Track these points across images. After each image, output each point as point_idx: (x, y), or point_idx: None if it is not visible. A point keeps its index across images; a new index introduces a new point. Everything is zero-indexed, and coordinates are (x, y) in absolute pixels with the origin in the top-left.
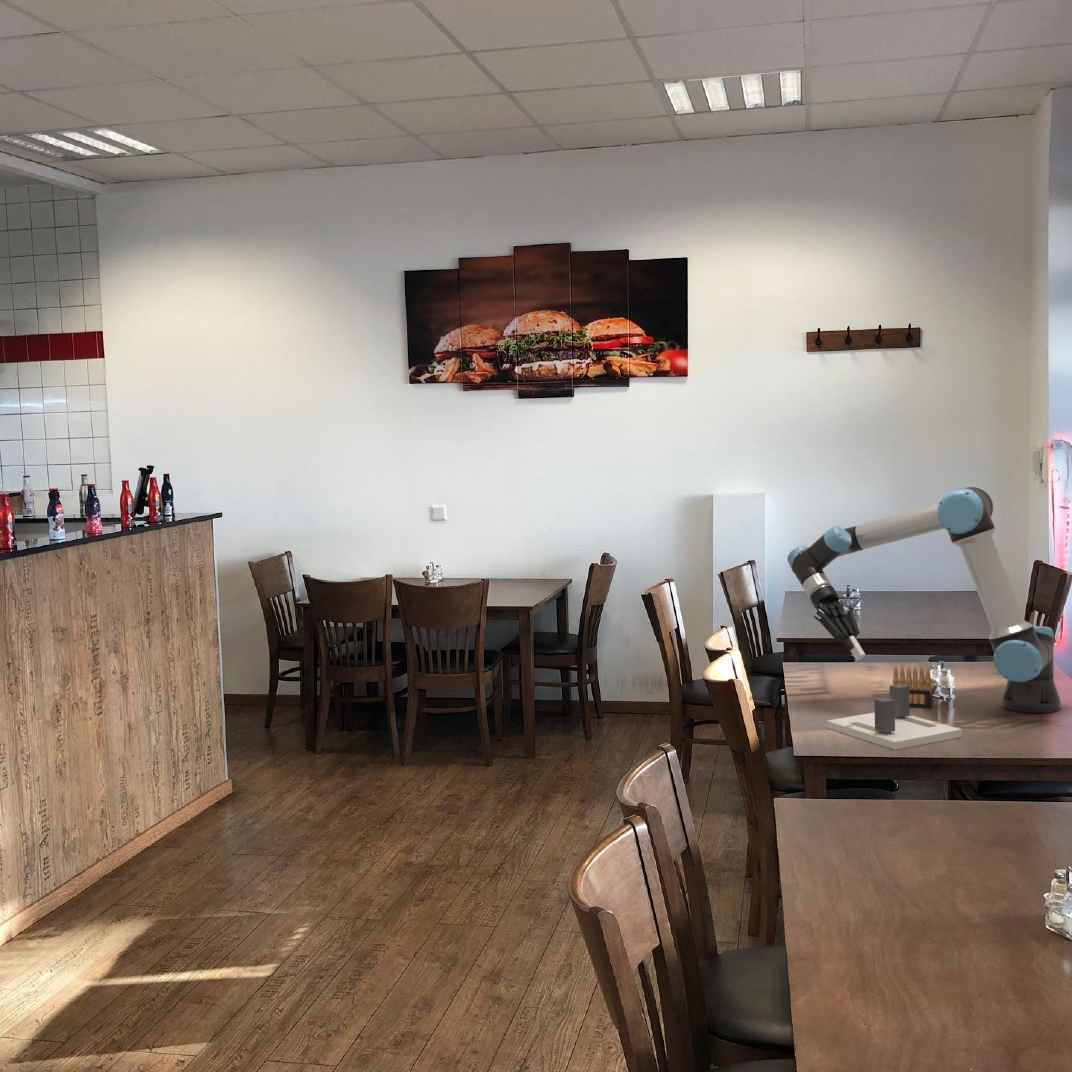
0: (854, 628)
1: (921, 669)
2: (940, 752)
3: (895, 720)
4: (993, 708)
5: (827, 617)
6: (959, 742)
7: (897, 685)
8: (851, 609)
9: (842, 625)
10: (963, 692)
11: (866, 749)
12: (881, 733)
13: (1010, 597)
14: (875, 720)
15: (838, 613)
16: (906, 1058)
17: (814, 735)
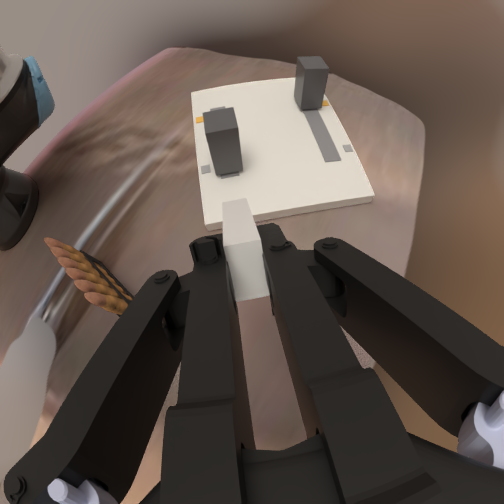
0: (165, 298)
1: (58, 248)
2: (264, 67)
3: (249, 150)
4: (40, 223)
5: (456, 350)
6: (214, 86)
7: (219, 124)
8: (24, 471)
9: (281, 301)
10: (9, 339)
11: (347, 97)
12: None
13: None
14: (323, 95)
15: (255, 465)
16: None
17: (400, 173)
